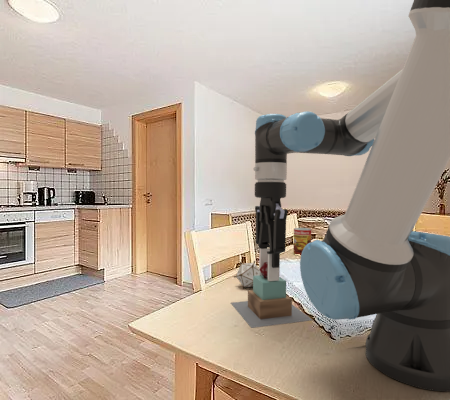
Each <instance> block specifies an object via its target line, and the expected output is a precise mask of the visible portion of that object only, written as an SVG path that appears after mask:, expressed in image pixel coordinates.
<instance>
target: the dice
mask: <svg viewBox="0 0 450 400" xmlns="http://www.w3.org/2000/svg"><path fill="white" fill-rule="evenodd" d="M259 270H260V272H261V273H262V275H263V277H264V278H268V262H264V264H263V265H262V267H261V268H260V269H259Z"/></svg>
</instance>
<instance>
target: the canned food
mask: <svg viewBox="0 0 450 400" xmlns="http://www.w3.org/2000/svg"><path fill="white" fill-rule="evenodd" d="M308 243H312V229H311V228H309V227H295V228H293V255H294V254H300V255H301V254H302V251H303V249H304V247H305V246H306V245H307V244H308Z"/></svg>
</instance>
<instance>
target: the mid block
mask: <svg viewBox="0 0 450 400" xmlns="http://www.w3.org/2000/svg"><path fill="white" fill-rule="evenodd" d="M252 290H253V292H254V293H255V294H256V295H257V296H259V297H260V298H261V299H262V300H268V299H278V298H286V295H287V280H286V279H284V278H282V277H280V276H279V281H268V278H264V277H263V275H259V276H253V287H252Z"/></svg>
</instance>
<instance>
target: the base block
mask: <svg viewBox="0 0 450 400" xmlns="http://www.w3.org/2000/svg"><path fill="white" fill-rule="evenodd" d="M247 301H248V307H249V308H250V309H251V310H252V311H253V312H254V313H255V314H256V316H257V317H258V318H259V319H267V318H275V317H283V316H292V305H293V299H292V297H290V296H289V295H287V294H286V298H278V299H268V300H262V299H261V298H260V297H259V296H257V295H256V294H255V293H254V292H253V289H252V290H247Z"/></svg>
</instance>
